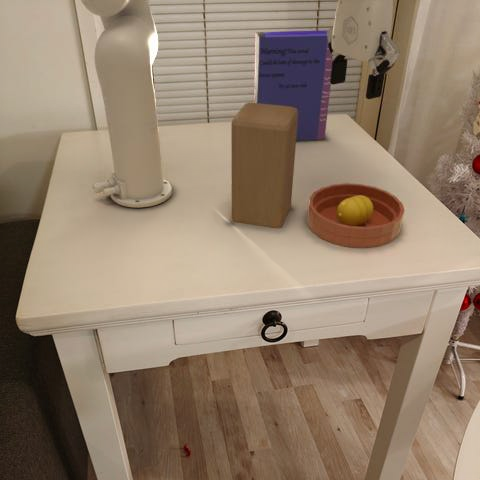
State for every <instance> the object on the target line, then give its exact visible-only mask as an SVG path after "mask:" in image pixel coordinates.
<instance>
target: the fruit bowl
mask: <svg viewBox="0 0 480 480" xmlns="http://www.w3.org/2000/svg"><path fill="white" fill-rule="evenodd" d="M359 195H361V196H365V197H367V198H369V199H370V200H371V202H372V204H373V214H372V216H371V217H370V219H369V220H367V221H366V222H364V223H363V224H361V225H358V226H348V225H344V224H342V223H341V222H340V221H339V219H338V217H337V208H338V206H339V204H340V203H341V202H342V201H343V200H345V199H347V198H351V197H354V196H359ZM307 206H308V207H307V216H306V217H307V220H306V224H307V226H308V227H309V229H310V231H311V232H312V233H313V234H315V235H316V236H317V237H318V238H320V239H322V240H324V241H326V242H329V243H331V244H333V245H337V246H342V247H347V248H357V249H361V248H362V249H367V248H375V247H380V246H383V245H386V244H389V243H391V242H392V241H393V240H395V239H396V238H397V237H398V236H399V234H400V231H401V228H402V225H403V224H402V223H403V220H404V215H405V207H404V204H403V202H402V201H401V200H400V199H399V198H398V197H397V196H395V195H394V194H392V193H390V192H389V191H387V190H384V189H381V188H379V187H376V186H372V185H366V184H361V183H350V182H349V183H348V182H346V183H335V184H334V183H333V184H330V185H326V186H323V187H320V188H319V189H317V190H316V191H313V192H312V194H311V196H310V197H309V198H308V205H307Z"/></svg>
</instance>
